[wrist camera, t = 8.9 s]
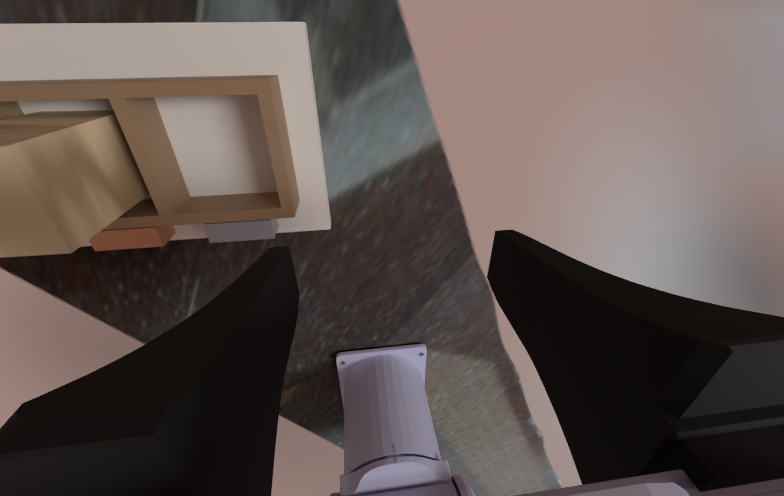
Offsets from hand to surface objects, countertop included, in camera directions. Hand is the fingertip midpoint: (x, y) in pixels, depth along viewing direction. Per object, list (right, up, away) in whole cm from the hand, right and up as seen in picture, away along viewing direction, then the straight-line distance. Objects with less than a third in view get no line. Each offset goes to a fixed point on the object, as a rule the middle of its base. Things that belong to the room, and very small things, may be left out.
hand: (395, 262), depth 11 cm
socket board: (-12, +6, +7) cm, 15 cm away
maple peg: (-15, +6, +5) cm, 17 cm away
